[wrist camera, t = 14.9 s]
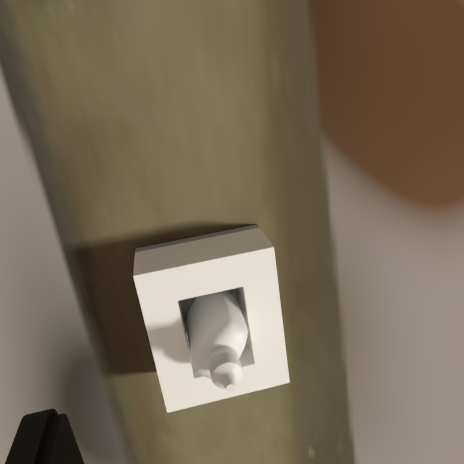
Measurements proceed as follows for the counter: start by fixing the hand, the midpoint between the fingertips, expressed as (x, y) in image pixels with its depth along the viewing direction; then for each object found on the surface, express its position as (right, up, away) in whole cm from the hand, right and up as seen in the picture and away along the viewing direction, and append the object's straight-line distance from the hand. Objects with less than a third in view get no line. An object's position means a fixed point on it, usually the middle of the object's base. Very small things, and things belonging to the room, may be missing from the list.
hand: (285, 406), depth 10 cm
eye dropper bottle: (-3, -3, +32) cm, 33 cm away
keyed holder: (-3, -3, +33) cm, 33 cm away
